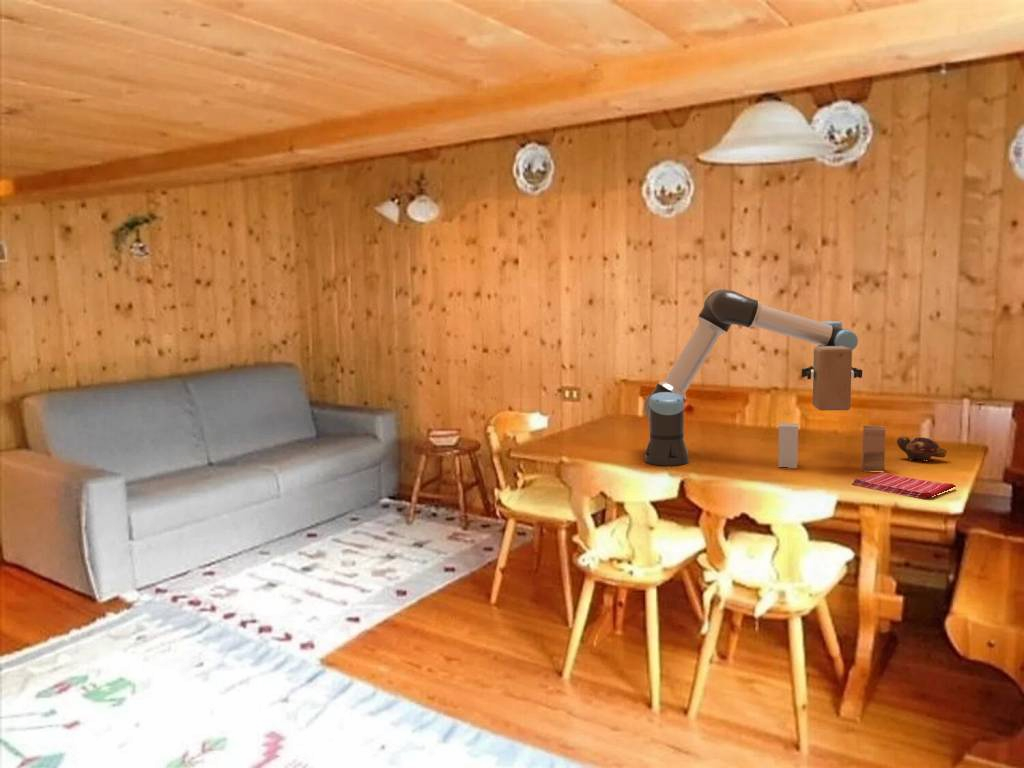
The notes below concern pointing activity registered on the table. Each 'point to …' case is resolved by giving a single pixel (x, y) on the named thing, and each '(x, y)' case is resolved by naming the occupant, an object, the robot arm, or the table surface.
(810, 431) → the table surface
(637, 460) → the table surface
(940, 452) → the decorative turtle
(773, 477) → the table surface
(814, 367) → the wooden block
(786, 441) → the grey painted block
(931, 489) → the dish towel
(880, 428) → the walnut block
